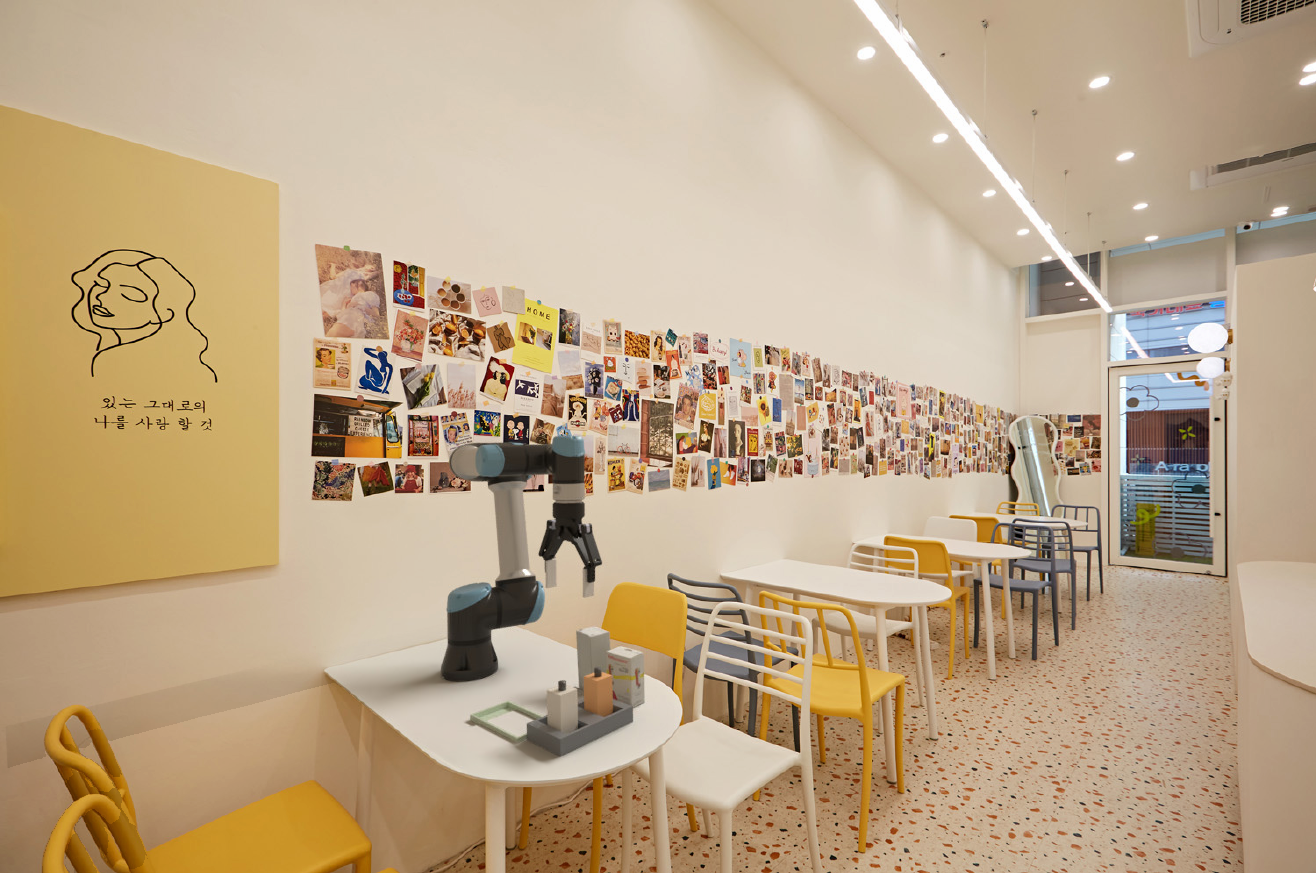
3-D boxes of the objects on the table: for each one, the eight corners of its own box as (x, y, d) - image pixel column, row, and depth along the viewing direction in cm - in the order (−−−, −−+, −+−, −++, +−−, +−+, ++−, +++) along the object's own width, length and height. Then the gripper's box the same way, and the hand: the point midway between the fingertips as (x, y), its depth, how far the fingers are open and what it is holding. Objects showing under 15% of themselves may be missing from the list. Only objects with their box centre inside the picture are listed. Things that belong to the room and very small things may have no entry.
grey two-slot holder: (526, 743, 124) (526, 723, 124) (599, 711, 139) (598, 693, 139) (560, 760, 116) (560, 739, 117) (633, 724, 131) (632, 706, 131)
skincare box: (613, 692, 150) (612, 632, 150) (591, 698, 146) (590, 636, 147) (597, 682, 157) (596, 624, 157) (576, 687, 153) (575, 628, 154)
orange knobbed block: (584, 723, 131) (583, 669, 131) (599, 716, 134) (598, 663, 135) (598, 728, 128) (597, 673, 129) (613, 721, 131) (612, 668, 132)
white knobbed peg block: (547, 739, 124) (546, 682, 124) (564, 731, 127) (563, 676, 127) (561, 746, 121) (560, 687, 121) (578, 738, 124) (577, 681, 124)
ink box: (605, 700, 145) (604, 650, 146) (620, 693, 149) (619, 645, 149) (631, 709, 140) (630, 657, 140) (645, 702, 143) (644, 652, 144)
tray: (470, 721, 135) (470, 714, 135) (508, 707, 142) (508, 700, 142) (517, 745, 123) (517, 738, 123) (556, 728, 130) (556, 721, 130)
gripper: (523, 499, 147) (524, 586, 147) (592, 505, 131) (592, 603, 130) (548, 497, 153) (548, 580, 153) (617, 503, 136) (617, 597, 136)
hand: (569, 591), depth 142 cm, fingers open, 13 cm apart
